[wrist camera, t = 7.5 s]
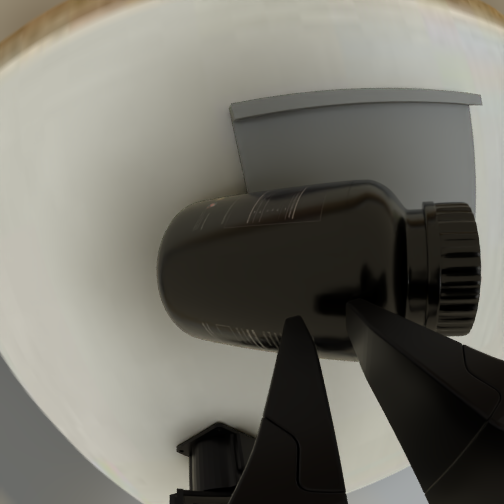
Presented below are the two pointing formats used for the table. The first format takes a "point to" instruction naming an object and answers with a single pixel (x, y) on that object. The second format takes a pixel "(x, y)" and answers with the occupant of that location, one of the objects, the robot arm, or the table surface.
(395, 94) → the tray
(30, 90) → the table surface
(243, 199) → the supplement bottle
